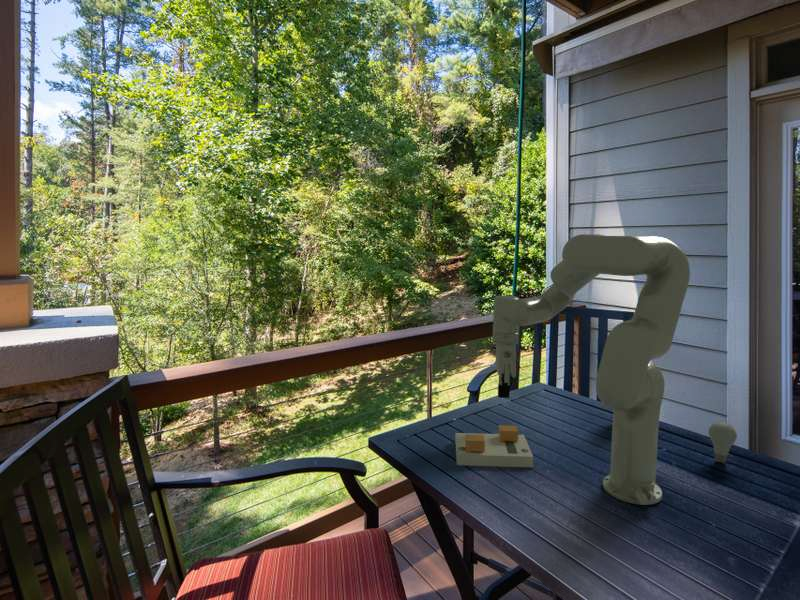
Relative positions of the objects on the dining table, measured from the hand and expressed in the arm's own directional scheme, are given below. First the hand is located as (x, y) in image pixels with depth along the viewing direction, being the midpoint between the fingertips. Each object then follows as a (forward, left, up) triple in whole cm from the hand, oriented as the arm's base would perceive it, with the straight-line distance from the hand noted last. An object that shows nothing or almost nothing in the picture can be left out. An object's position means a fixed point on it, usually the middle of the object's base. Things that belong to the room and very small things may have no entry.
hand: (503, 396), depth 137 cm
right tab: (-8, 0, -10) cm, 13 cm away
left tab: (-15, +10, -10) cm, 20 cm away
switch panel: (-11, +5, -13) cm, 18 cm away
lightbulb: (-12, -55, -13) cm, 58 cm away
